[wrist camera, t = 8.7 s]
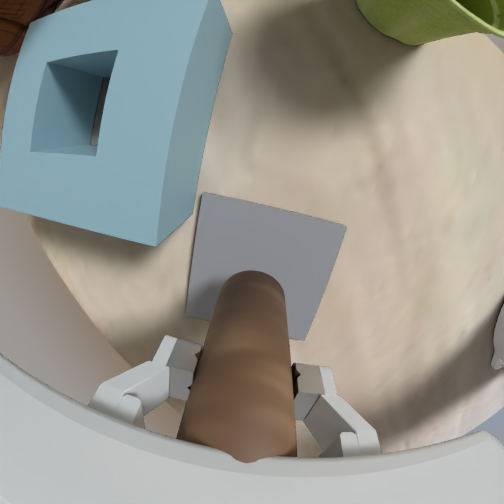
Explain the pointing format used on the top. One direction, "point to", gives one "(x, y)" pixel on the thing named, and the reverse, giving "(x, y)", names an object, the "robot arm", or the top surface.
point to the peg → (244, 374)
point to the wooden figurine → (19, 21)
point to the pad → (262, 255)
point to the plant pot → (433, 18)
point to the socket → (113, 114)
